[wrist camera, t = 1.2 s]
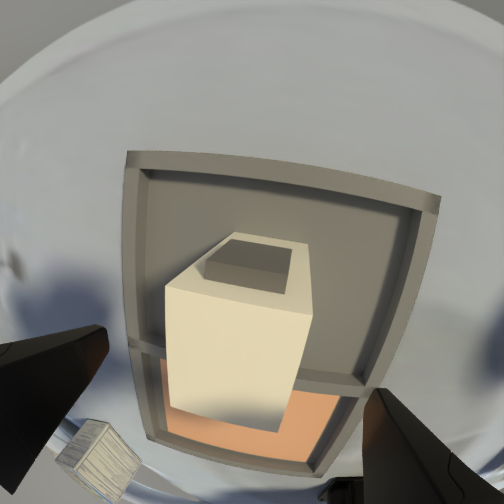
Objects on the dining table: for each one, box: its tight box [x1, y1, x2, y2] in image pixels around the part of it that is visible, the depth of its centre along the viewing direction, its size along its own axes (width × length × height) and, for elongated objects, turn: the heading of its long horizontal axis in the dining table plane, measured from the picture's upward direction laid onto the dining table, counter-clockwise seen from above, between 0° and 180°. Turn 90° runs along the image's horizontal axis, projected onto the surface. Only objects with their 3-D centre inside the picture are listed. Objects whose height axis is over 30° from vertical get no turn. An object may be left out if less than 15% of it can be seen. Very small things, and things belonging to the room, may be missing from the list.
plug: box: [165, 232, 313, 433], centre depth 11 cm, size 6×4×8 cm
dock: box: [122, 151, 441, 478], centre depth 16 cm, size 25×17×2 cm
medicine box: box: [55, 419, 142, 504], centre depth 21 cm, size 8×4×9 cm, turn 18°
